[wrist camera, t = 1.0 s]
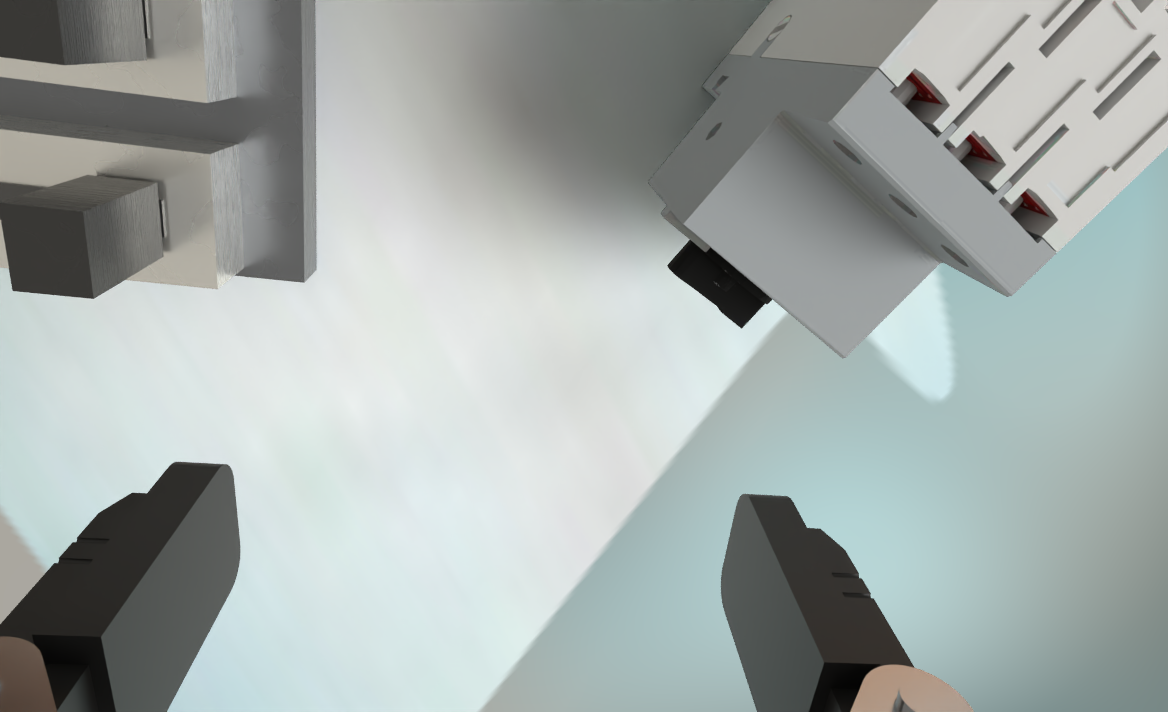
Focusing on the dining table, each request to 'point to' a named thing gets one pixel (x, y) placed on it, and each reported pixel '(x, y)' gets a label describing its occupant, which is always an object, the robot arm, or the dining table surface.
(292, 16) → the breaker panel
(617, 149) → the dining table surface
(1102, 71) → the circuit breaker
